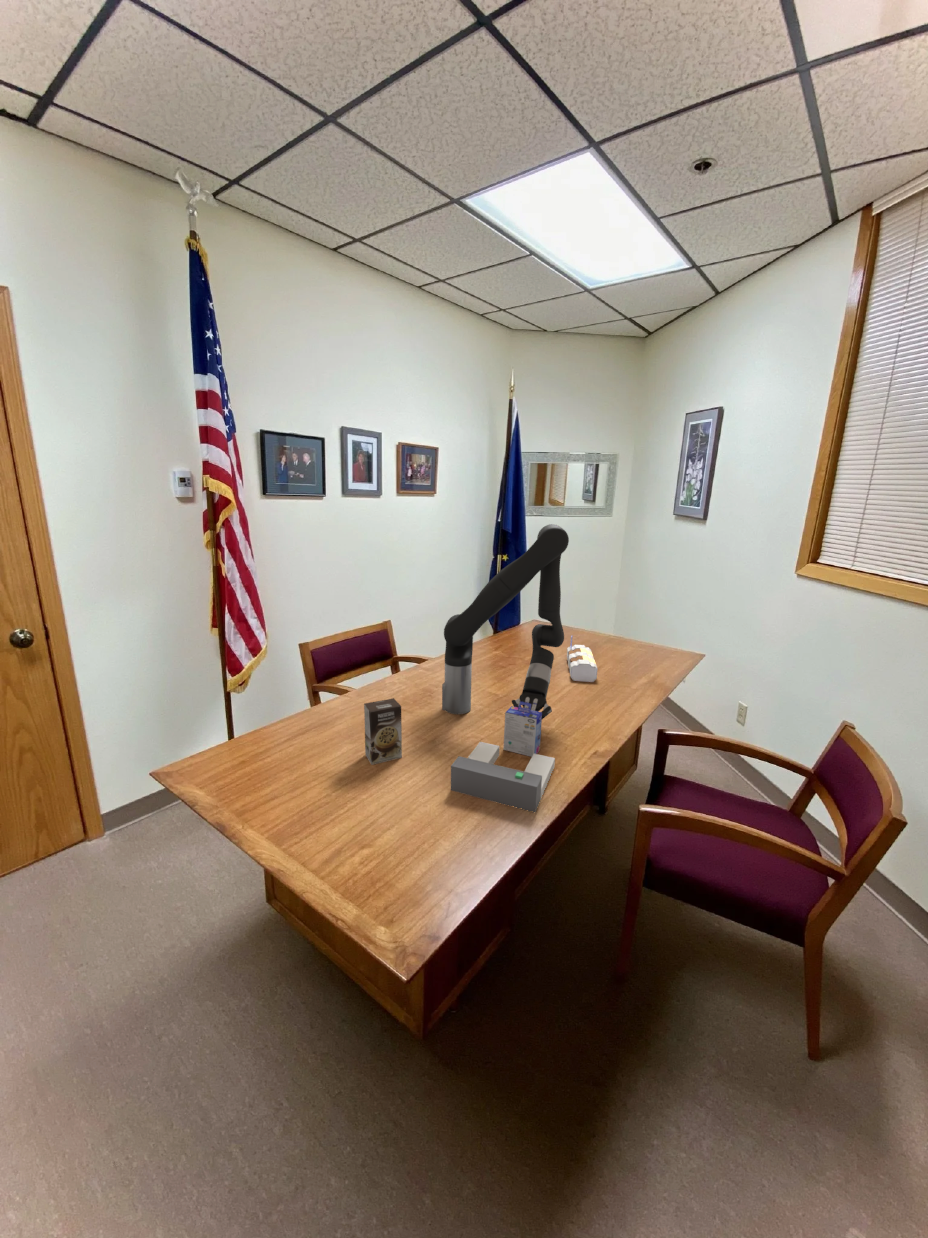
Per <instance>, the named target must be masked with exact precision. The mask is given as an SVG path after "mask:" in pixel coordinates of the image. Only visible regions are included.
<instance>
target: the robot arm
mask: <svg viewBox="0 0 928 1238" xmlns="http://www.w3.org/2000/svg"><path fill="white" fill-rule="evenodd" d="M536 538H537V539H536V540H535V541H534V543H533V544H532V545H531V546H530V547H529V548H528V549H527V550H526V551H525V552H524V553H523V554H522V555H521V556H519V557H518V558H517V559H515V560H513V561H512V562H511V563H509V564H507V565H506V566H505V567H504V568H502V569H501V570H500V571H498V573H496V575H494V576H493V577H492V578H491V579H490V580H489V581H488V582H487V583H486V584H485V586H484V587H483V588H482V589H481V591H480V592H479V593H478V594H477V596H476V597H475V598H474V600H473V601H472V603H470V605H469V606H468V607H467V608H466V609H464V610H463V611H462V612H461V613H460V614H454V615H452V616H451V617H449V619H448V620H447V621H446V623H445V626H444V628H443V638H444V640H445V652H444V682H443V683H442V687H441V689H442V690H441V693H442V696H441V697H442V698H441V702H442V703H441V710H442V711H445V712H447V713H449V714H450V715H451V714H452V715H463V714H467V713H469V712H470V711H471V710H472V709H471V708H472V707H471V706H472V675H473V674H472V672H473V671H472V670H473V668H472V667H473V666H472V663H473V651H474V650H473V649H474V648H473V646H474V635H475V634H476V633H477V632H478V631H479V630H480V628H482V626H483V625H484V624H485V623H486V622H488V620H490V619H491V618H493V616H494V615H496V614H497V613H498V612H499V611H501V610H502V609H503V608H504V607H505V606H506V605H508V604H509V603H510V602H511V601H513V599H514V598H516V596H517V595H519V594H520V592H521V591H522V590H523V589H524V588H526V586H527V585H528V584H529V583H530V582H531V581H532V580H533V579H534V578H535V577H536V575H537V574H538V573H539V572H540V573H539V574H540V575H539V587H538V589H539V590H538V603H537V604H538V607H537V608H538V609H537V615H538V617H539V618H541V619H543V620H546V621H548V622H549V623H550V624H544V623H539V624H536V625H534V626H533V628H532V630H531V641H532V654H531V658H530V662H529V666H528V669H527V672H526V676H525V680H524V685H523V687H522V688H523V689H522V692H521V694H520V695H519V697H518V698H516V699H512V700H511V704H512V705H513V707H519V704H520V701H521V702H525V703H530V704H532V705H531V710H533V711H538V712H542V720H544V719H545V718H546V717H547V716H548V715H549V714H551V713H552V711H553V709H552V707H551V705H549V704H548V701H547V695H548V690H549V687H550V683H551V677H552V675H551V674H552V669H553V665H554V660H555V655H554V653H553V652H552V651H551V650H550V649H547V648H544V647H551V648H559V647H561V646H562V645H563V643H564V641H565V634H564V633H565V632H564V628H563V625H562V624H563V623H562V618H561V602H562V601H561V596H562V595H561V593H562V592H561V588H562V587H561V576H560V575H561V571H560V570H561V569H560V568H561V559H562V558H561V557H562V554H563V553H565V551H566V550H567V548H568V546H569V542H570V539H569V534H568V533H567V531H566V529H564V528H563V527H562V526H559V525H557V524H553V523H551V524H550V523H549V524H546V525H545V526H543V527H542V528H541V529H539V531H538V534H537V537H536ZM521 707H523V708H529V707H528V706H527V705H521ZM541 710H542V711H541Z"/></svg>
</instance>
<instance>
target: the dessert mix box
mask: <svg viewBox="0 0 928 1238" xmlns="http://www.w3.org/2000/svg"><path fill="white" fill-rule="evenodd" d="M363 706H364V707H363V709H364V711H363V713H364V750H365V751H364V752H365V753H364V754H365V756H366V758H367V759H368V761H369V764H370V765H372V766H373V765H377V764H382V763H385V762H389V761H394V760H397V759H398V760H399V759H402V758H403V753H402V751H403V748H402V745H403V744H402V743H403V742H402V730H403V729H402V705H401V704H400V703H399V702H398V701H397V700H396V699H395V698H394V697H393V698H388V699H383V700H378V701H377V700H376V701H372V702H366V703H364V704H363Z"/></svg>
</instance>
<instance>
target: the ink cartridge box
mask: <svg viewBox="0 0 928 1238" xmlns="http://www.w3.org/2000/svg"><path fill="white" fill-rule="evenodd" d="M522 705H527V706H528V707H529V708H523V706H522ZM531 705H532V704H530V703H525V702H521V701H520V704H519V707H514V706H510V707H509V708H508V710H506V711H505V712H504V728H503V729H504V730H503V731H504V732H503V747H502V749H503V750H504V751H507V752H512V753H516V754H519V755H523V756H527V757H530V758H532V756H533V754H539V751H541V735H542V723H543V721H542V720H543V719H542V711H533V710H531Z"/></svg>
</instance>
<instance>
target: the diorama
mask: <svg viewBox="0 0 928 1238" xmlns="http://www.w3.org/2000/svg"><path fill="white" fill-rule="evenodd" d="M575 650H580V651H575ZM571 651H575V652H573V653H570V652H571ZM569 653H570V654H569ZM577 657H581V658H582V659H577ZM571 659H577V660H573V661H572V662H571ZM566 660H567V666H568V670H569V675H570V678H571V679H572V681H573V682H575V681H576V682H587V683H589V682H590V683H595V681H596V680H597V679H598V665H597V663H596V661H595V658H594V655H593V652H592V649H591V648H590V647H588V646H585V644H574V645H573V635H571V636H570V645H569V646H568V647H567V649H566Z"/></svg>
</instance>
